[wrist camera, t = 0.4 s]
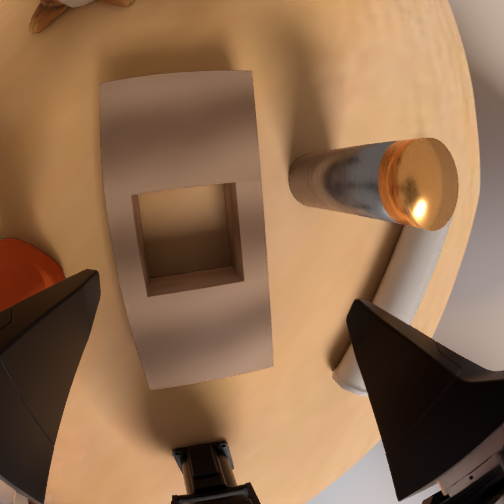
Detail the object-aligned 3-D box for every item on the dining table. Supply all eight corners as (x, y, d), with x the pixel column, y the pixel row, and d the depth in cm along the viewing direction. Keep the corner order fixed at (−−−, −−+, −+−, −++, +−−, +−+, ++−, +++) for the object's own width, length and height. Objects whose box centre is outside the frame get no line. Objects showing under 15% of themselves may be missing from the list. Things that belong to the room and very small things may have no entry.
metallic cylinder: (336, 204, 25) (457, 226, 13) (290, 209, 24) (406, 235, 12) (333, 153, 24) (455, 143, 12) (286, 154, 23) (403, 132, 10)
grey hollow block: (258, 342, 26) (273, 366, 22) (150, 362, 23) (150, 390, 19) (237, 88, 20) (251, 70, 16) (110, 100, 18) (100, 83, 14)
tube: (437, 159, 23) (338, 390, 25) (470, 185, 23) (378, 400, 25) (412, 167, 28) (326, 366, 30) (444, 189, 28) (362, 378, 31)
